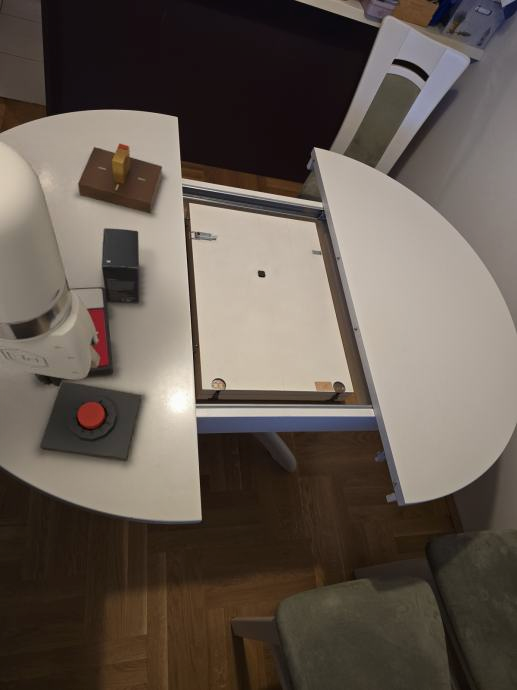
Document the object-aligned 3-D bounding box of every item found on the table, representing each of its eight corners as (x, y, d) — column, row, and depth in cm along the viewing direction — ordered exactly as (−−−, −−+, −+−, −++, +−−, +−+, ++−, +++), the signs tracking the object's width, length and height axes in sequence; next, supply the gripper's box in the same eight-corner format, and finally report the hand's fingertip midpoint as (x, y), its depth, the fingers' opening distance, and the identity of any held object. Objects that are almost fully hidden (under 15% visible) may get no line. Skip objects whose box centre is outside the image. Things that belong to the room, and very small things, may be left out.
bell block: (42, 449, 57) (36, 444, 54) (64, 386, 62) (59, 377, 58) (126, 461, 59) (125, 456, 56) (141, 399, 64) (141, 391, 61)
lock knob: (123, 184, 78) (122, 162, 74) (113, 181, 78) (111, 159, 73) (130, 167, 81) (129, 145, 76) (120, 164, 80) (119, 142, 76)
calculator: (33, 375, 58) (31, 287, 63) (40, 383, 61) (37, 300, 66) (112, 366, 61) (104, 284, 66) (113, 375, 65) (106, 296, 70)
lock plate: (80, 195, 78) (77, 182, 75) (95, 158, 83) (93, 146, 80) (150, 213, 81) (150, 202, 78) (161, 177, 86) (162, 165, 83)
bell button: (75, 427, 56) (74, 424, 55) (83, 403, 58) (81, 399, 56) (101, 430, 57) (100, 428, 55) (108, 407, 59) (107, 404, 57)
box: (139, 303, 71) (138, 268, 62) (106, 302, 70) (100, 266, 60) (139, 267, 75) (139, 229, 65) (108, 266, 73) (103, 226, 64)
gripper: (-117, 311, 28) (-26, 391, 43) (101, 354, 31) (112, 414, 47) (-67, 231, 31) (1, 333, 47) (125, 277, 34) (128, 358, 50)
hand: (56, 373), depth 47 cm, fingers closed
